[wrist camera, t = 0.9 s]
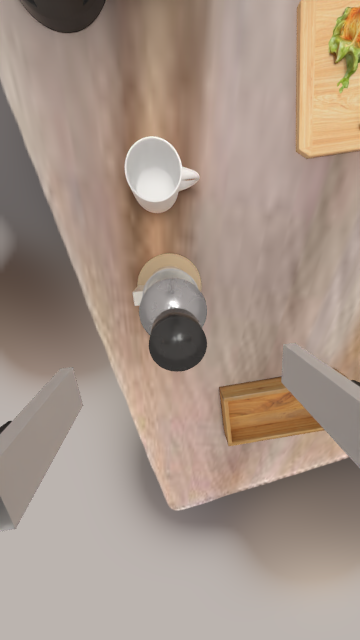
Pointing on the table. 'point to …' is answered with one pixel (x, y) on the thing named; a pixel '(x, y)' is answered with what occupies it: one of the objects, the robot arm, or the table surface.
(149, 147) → the mug
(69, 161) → the table surface
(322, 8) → the cutting board
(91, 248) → the table surface
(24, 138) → the table surface
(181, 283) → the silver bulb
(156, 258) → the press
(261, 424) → the tray
